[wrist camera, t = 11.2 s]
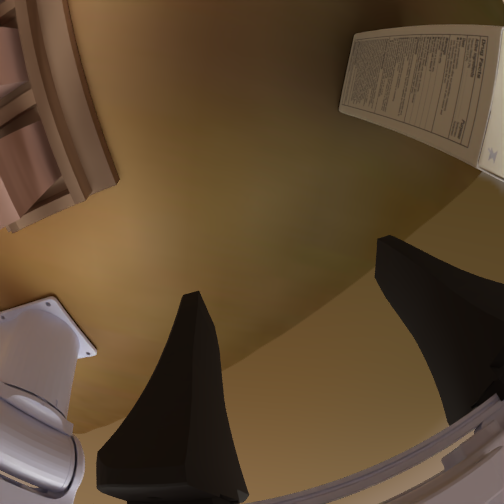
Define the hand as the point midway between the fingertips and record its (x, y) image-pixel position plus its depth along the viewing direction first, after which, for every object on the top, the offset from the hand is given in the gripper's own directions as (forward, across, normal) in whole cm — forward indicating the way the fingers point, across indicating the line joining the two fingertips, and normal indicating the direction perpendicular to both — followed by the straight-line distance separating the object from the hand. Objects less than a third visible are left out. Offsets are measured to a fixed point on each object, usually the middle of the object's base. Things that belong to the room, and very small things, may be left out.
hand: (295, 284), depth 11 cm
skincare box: (+11, -10, -6) cm, 16 cm away
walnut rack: (+10, +13, -14) cm, 22 cm away
